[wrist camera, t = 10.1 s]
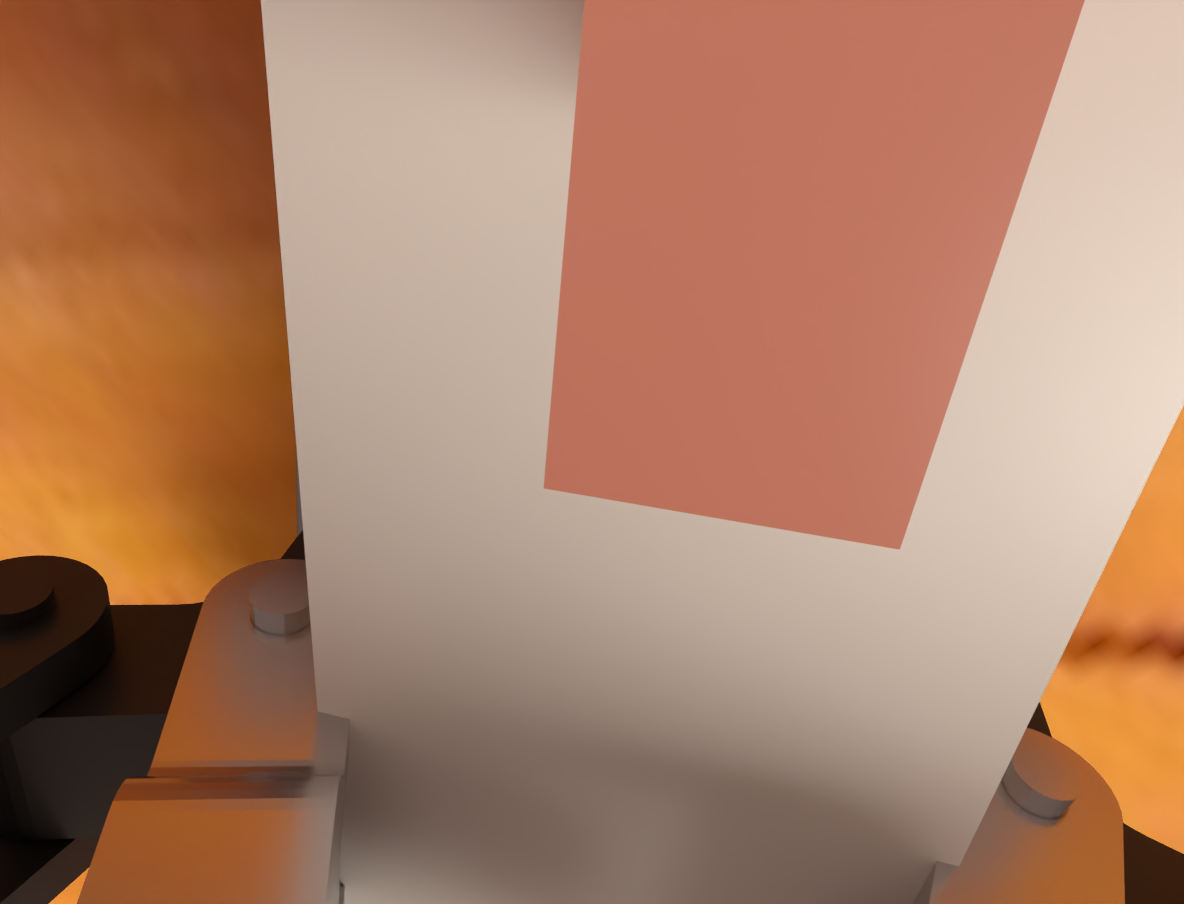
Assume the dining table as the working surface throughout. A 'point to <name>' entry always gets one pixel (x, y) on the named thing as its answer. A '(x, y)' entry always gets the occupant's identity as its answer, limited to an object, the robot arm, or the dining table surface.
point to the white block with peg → (711, 419)
